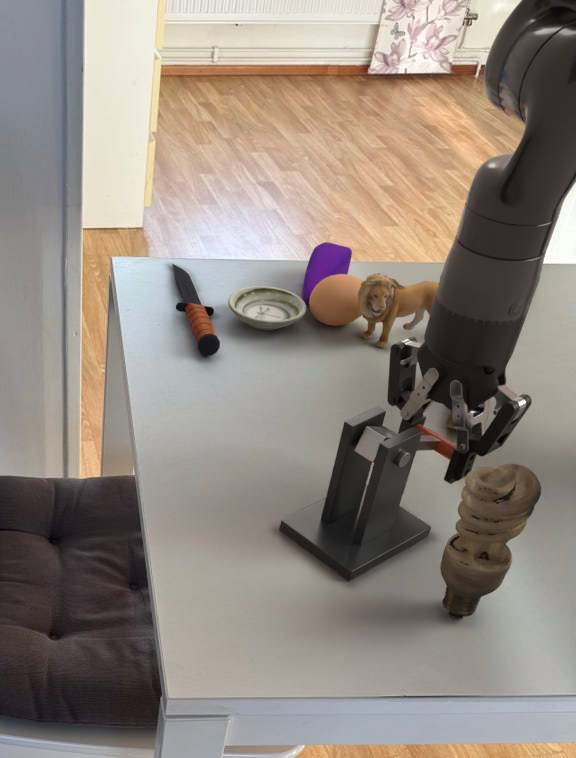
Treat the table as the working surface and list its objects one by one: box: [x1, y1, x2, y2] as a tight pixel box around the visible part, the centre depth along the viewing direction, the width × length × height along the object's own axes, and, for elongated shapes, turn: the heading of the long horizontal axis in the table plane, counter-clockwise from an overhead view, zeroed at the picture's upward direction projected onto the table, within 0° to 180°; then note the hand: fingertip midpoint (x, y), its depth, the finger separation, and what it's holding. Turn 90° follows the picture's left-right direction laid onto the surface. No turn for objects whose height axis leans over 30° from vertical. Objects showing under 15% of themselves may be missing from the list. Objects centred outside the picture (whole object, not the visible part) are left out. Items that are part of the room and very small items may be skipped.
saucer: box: [227, 285, 307, 331], centre depth 117 cm, size 10×10×2 cm
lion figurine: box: [358, 272, 439, 349], centre depth 113 cm, size 15×5×9 cm, turn 117°
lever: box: [354, 424, 457, 464], centre depth 85 cm, size 12×5×2 cm, turn 127°
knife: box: [171, 263, 221, 357], centre depth 120 cm, size 26×3×5 cm
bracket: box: [278, 405, 432, 582], centre depth 85 cm, size 11×9×12 cm
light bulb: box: [439, 463, 542, 619], centre depth 77 cm, size 6×6×15 cm
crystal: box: [301, 241, 353, 307], centre depth 123 cm, size 5×5×15 cm
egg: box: [309, 274, 363, 327], centre depth 116 cm, size 6×6×8 cm
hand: (429, 464), depth 90 cm, fingers closed on lever, 5 cm apart
